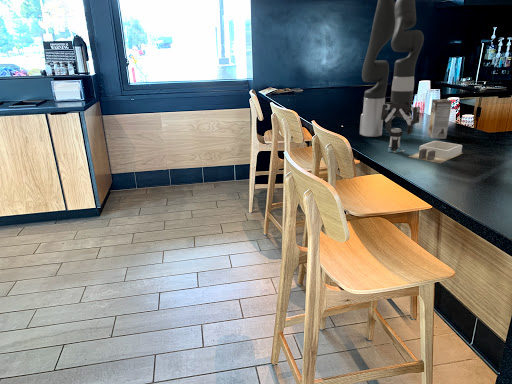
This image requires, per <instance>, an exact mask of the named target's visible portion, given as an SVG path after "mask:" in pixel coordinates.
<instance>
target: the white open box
mask: <svg viewBox="0 0 512 384" xmlns="http://www.w3.org/2000/svg"><path fill="white" fill-rule="evenodd" d="M422 149H427V153H426V155H428V152H429V151H432V150H434V151H436V152H435V157H438V158H443V159H448V158H450V157H453V156H455V155H457V154H460V153H462V150H463V145H462V144H458V143H452V142H445V141H440V140H432V141H430V142H427V143H423V144H422V145H419V149H418V152H419V151H420V150H422ZM460 155H461V154H460ZM453 158H454V157H453Z"/></svg>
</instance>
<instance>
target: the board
mask: <svg viewBox="0 0 512 384" xmlns="http://www.w3.org/2000/svg"><path fill="white" fill-rule="evenodd" d="M435 152H436V151H434V150H432V151H429V152H428V155H426V153H427V149H422V150H420V151H419V150H418V152H416V153H414V154H412V155H409V156H408V157H409V158H414V159H418V160H422V161H428V162H433V163H438V164H442V163H444V162H446V161H448V160H452V159H453V158H455V157H458V156H460V155H462V154H464V153H463V152H461V153H460V154H457V155H455V156H453V157H450V158H448V159H443V158H438V157H435Z"/></svg>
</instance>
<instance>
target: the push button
mask: <svg viewBox="0 0 512 384" xmlns="http://www.w3.org/2000/svg"><path fill="white" fill-rule="evenodd" d="M388 133H389V134H388V135H389V136H390V137H389V136H388V137H389V138H390V139H389V145H388V147H387V149H386V151H387V153H401V152H405V150H402V148H401V144H400V143H401V142H400V141H401V137H403V134H404V131H403V130H402V129H401V128H398V127H391V130H390V131H389V132H388Z"/></svg>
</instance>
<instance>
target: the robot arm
mask: <svg viewBox="0 0 512 384" xmlns="http://www.w3.org/2000/svg"><path fill="white" fill-rule="evenodd" d="M416 23H417V11H416V0H396V1H395V0H377V3H376V8H375V13H374V17H373V22H372V26H371V27H372V28H371V32H370V37H369V39H370V40H369V42H368V47H367V52H366V55H365V58H364V62H363V65H362V69H361V78H362V81H363V82H365V83H376V84H375V85H374V86H373V87H371V88H369V89H366V90H365V91H364V94H363V108H362V113H361V114H360V123H359V135H361V136H363V137H370V138H371V137H372V138H373V137H375V138H376V137H381V136H382V135H383V134H382V133H383V125H384V123H383V122H385V125H384V126H385V127H384V130H385V132H386V133H389V131H390V130H391V129H392V120H393V119H394V118H401V119H404V120H405V121H406V123H407V124H406V125H407V126H406V135H407V136H409V135H410V136H411V134H412V133H413V132H414V131H413V130H414V125H415V124H419V123H420V111H421V107H420V106H413V105H412V103H413V98H414V97H413V96H414V88H415V72H416V65H417V60H418V57H419V55H420V52H421V50H422V47H423V45H424V40H425V37H424V36H425V35H424V34H423V32H422V31H421V30H418V29H413V30H412V29H411V28H413V27H415V26H416ZM410 29H411V30H410ZM390 40H391V41H390ZM389 41H390V46H391V49H392V50H393V51H394V52H396V53H406V52H407V53H408V52H409V53H408V55H407V56H406V57H404V58H399V59H397V60H395V62H394V67H393V68H394V69H393V79H392V83H391V84H392V85H391V94H390V104H389V103H385V102H386V93H387V88H388V79H389V74H390V65H389V62H388V61H387V60H386V59H385V60H384V59H382V60H376V59H377V57H378V55H379V53H380V51H381V50H382V49H383V47H384V46H385V45H386V44H387V43H388V42H389ZM389 110H390V112H389ZM411 112H412V114H411Z"/></svg>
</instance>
